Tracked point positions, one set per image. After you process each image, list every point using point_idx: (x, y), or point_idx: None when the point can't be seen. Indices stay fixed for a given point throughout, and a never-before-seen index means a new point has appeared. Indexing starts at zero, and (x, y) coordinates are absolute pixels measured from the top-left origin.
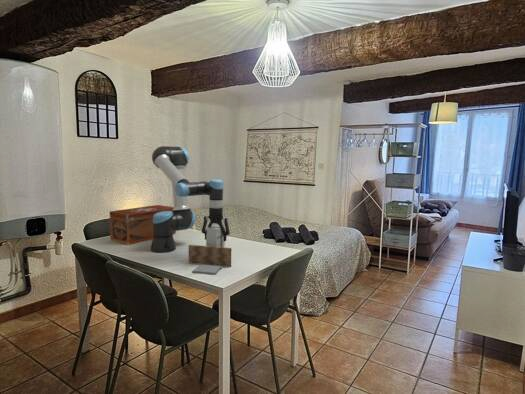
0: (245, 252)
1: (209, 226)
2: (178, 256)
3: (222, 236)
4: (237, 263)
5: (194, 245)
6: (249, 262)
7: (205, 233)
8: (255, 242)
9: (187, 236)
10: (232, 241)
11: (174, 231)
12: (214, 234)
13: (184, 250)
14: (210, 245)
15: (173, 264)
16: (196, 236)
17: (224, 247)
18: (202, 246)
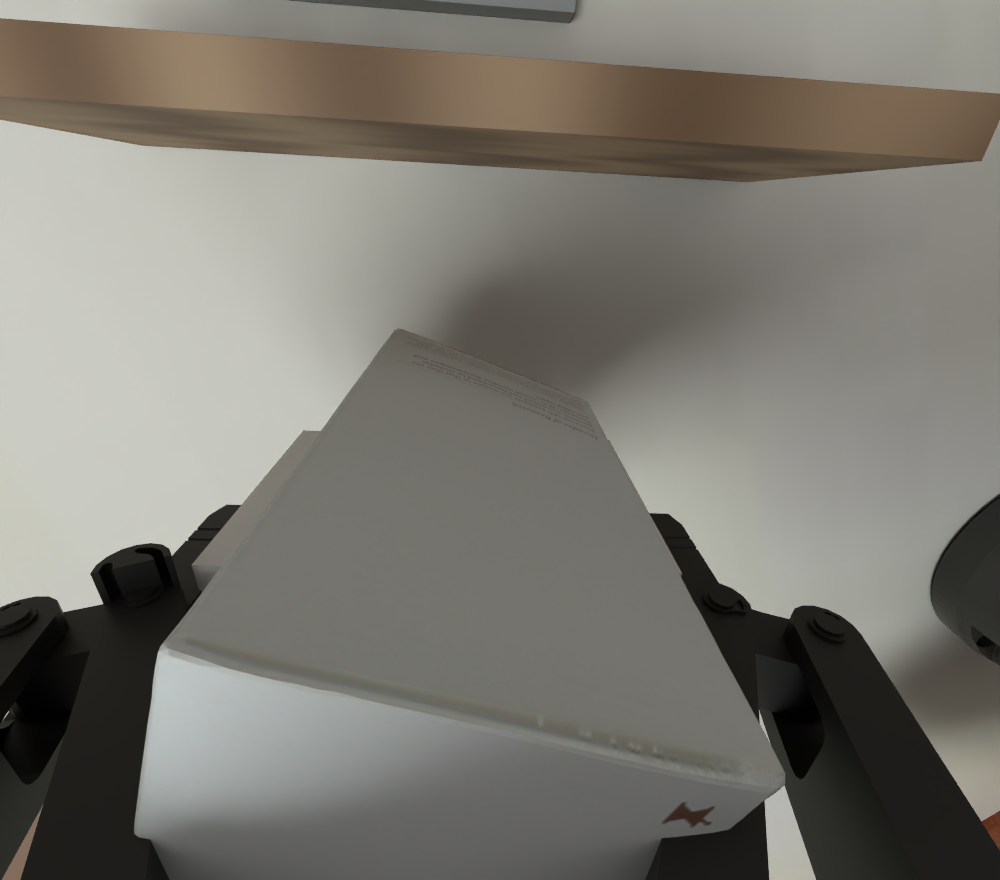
0: None
1: (690, 872)
2: (899, 379)
3: (223, 559)
4: (126, 278)
5: (855, 120)
6: (9, 350)
7: (719, 598)
8: None
9: None
10: None
11: None
12: (388, 493)
13: (843, 563)
14: (518, 394)
15: (967, 29)
16: (771, 840)
17: (21, 97)
18: (636, 69)
